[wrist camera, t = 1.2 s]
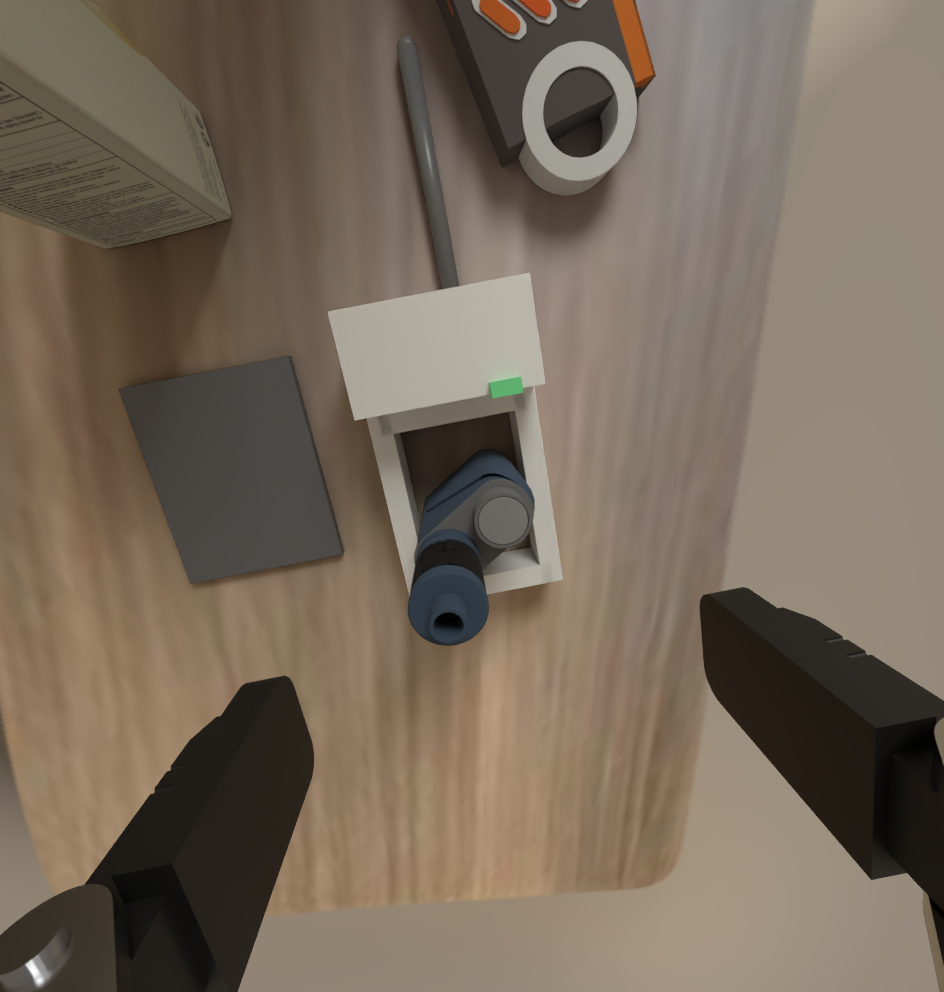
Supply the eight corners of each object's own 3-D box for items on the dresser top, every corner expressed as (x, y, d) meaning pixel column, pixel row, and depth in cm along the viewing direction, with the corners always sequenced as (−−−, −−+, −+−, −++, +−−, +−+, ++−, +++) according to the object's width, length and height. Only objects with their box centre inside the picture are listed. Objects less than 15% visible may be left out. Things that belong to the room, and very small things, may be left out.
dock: (293, 66, 19) (233, -54, 14) (470, 32, 19) (479, -100, 14) (415, 587, 25) (407, 641, 20) (551, 560, 25) (579, 608, 20)
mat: (124, 388, 22) (118, 388, 21) (290, 356, 22) (288, 356, 21) (194, 580, 24) (190, 583, 24) (344, 551, 24) (342, 554, 24)
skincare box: (202, 108, 19) (-190, -327, 7) (237, 221, 20) (-56, -1, 8) (52, 142, 19) (-577, -237, 7) (95, 254, 20) (-395, 78, 9)
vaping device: (413, 505, 24) (380, 624, 12) (488, 437, 23) (530, 493, 12) (447, 540, 24) (446, 685, 13) (522, 474, 24) (593, 563, 12)
